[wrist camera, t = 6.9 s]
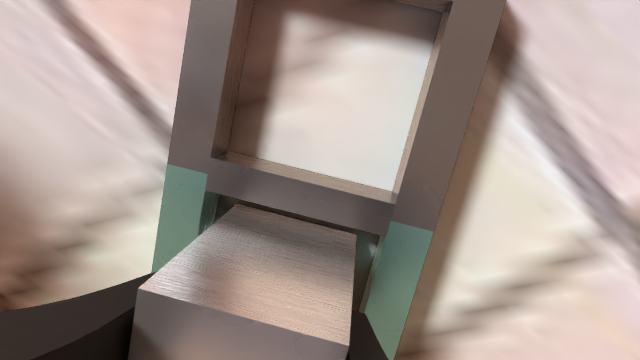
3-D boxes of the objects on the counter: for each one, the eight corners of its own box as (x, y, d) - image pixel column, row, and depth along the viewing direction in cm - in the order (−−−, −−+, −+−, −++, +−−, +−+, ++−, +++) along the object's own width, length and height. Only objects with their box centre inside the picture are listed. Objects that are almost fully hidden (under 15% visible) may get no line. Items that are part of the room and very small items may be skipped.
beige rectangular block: (216, 311, 14) (113, 461, 9) (236, 203, 13) (138, 288, 8) (327, 342, 14) (301, 517, 8) (356, 234, 13) (349, 346, 7)
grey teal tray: (159, 337, 15) (138, 363, 14) (225, -75, 12) (205, -97, 11) (371, 397, 15) (371, 430, 13) (497, -15, 12) (515, -31, 10)
